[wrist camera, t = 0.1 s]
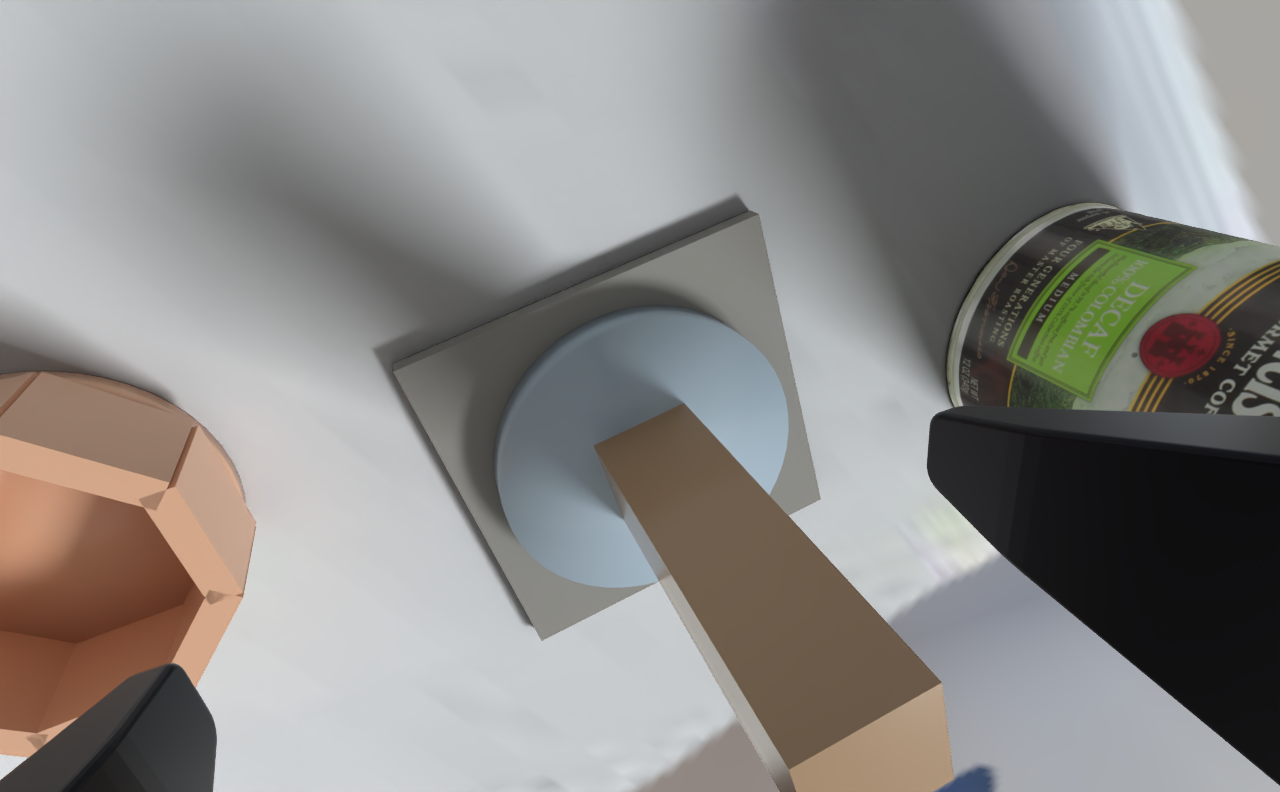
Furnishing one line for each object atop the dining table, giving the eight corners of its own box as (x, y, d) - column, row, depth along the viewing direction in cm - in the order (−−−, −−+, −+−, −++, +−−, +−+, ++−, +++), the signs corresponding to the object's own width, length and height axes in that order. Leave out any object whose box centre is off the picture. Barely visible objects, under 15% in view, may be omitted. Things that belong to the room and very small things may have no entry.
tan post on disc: (440, 386, 22) (540, 756, 11) (737, 255, 23) (1098, 457, 12) (557, 610, 27) (707, 1020, 16) (793, 491, 28) (1084, 786, 17)
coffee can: (897, 382, 29) (1288, 628, 17) (1067, 148, 27) (1647, 238, 15) (1031, 471, 34) (1404, 708, 22) (1182, 280, 32) (1681, 426, 20)
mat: (391, 363, 22) (392, 371, 21) (749, 210, 23) (758, 214, 23) (537, 629, 28) (541, 640, 27) (812, 491, 30) (820, 499, 29)
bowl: (-233, 440, 17) (-375, 538, 14) (155, 327, 19) (113, 390, 16) (-6, 681, 21) (-71, 802, 18) (295, 570, 23) (286, 661, 20)
